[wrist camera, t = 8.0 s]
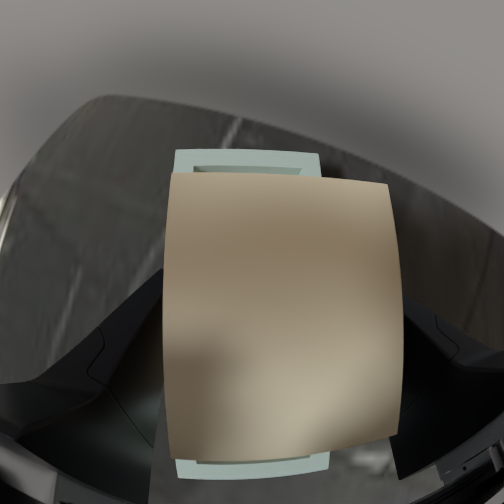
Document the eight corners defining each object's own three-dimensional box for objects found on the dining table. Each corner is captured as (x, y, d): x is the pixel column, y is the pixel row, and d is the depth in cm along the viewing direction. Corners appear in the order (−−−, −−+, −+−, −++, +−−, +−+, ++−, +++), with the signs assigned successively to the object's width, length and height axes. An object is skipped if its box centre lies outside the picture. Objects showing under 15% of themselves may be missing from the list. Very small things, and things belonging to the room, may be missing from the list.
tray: (312, 447, 16) (328, 468, 13) (185, 453, 15) (178, 477, 12) (304, 177, 20) (318, 153, 17) (183, 175, 20) (176, 149, 16)
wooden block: (288, 363, 16) (397, 434, 5) (207, 365, 16) (171, 458, 4) (286, 268, 18) (387, 184, 6) (206, 268, 17) (171, 172, 6)
